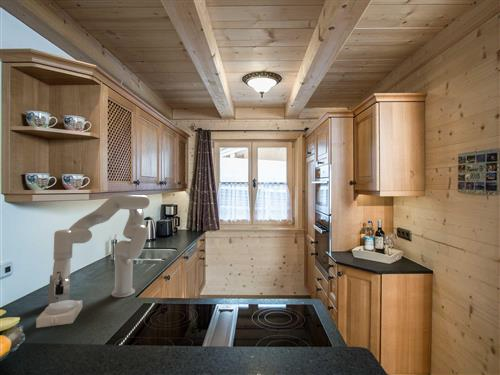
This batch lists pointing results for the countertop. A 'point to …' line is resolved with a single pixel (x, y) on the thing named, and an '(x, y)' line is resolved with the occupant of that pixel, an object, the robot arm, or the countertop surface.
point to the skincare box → (51, 293)
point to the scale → (59, 313)
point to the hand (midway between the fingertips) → (61, 291)
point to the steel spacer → (66, 286)
